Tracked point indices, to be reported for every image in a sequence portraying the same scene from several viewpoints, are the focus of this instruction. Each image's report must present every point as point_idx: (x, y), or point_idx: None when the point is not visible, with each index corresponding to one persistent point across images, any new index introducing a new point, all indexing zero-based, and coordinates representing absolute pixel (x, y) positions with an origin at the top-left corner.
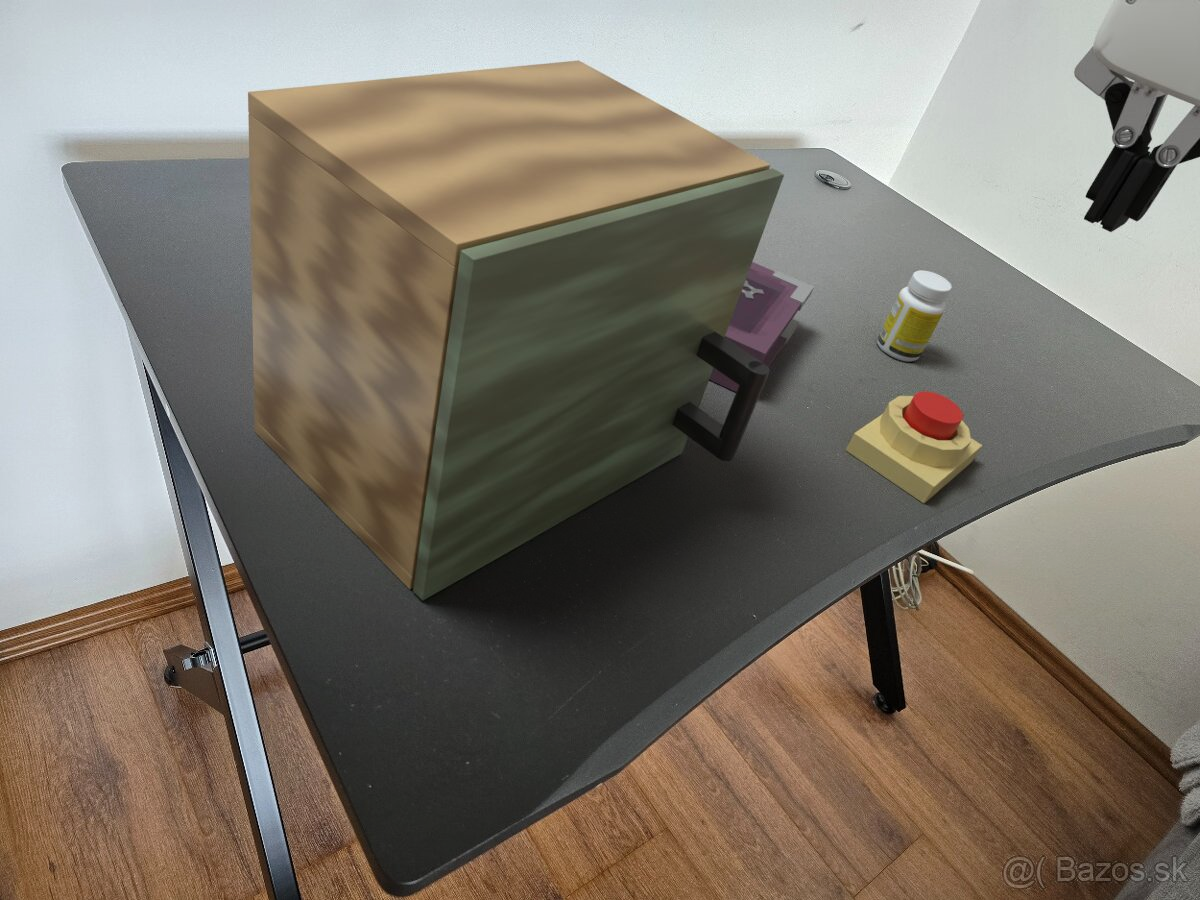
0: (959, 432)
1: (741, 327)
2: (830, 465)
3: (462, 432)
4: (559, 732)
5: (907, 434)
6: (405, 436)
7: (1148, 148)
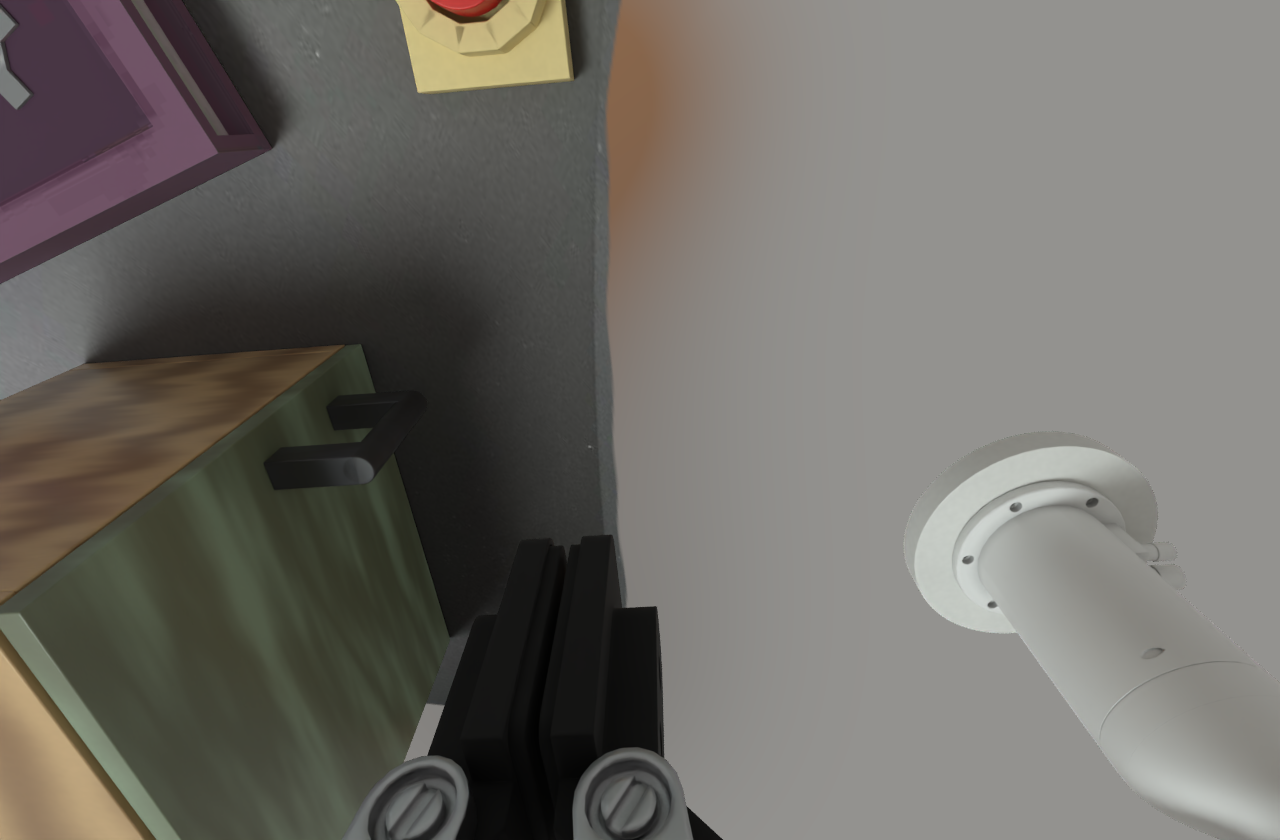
0: None
1: (122, 105)
2: (448, 154)
3: None
4: None
5: (472, 52)
6: None
7: (506, 750)
